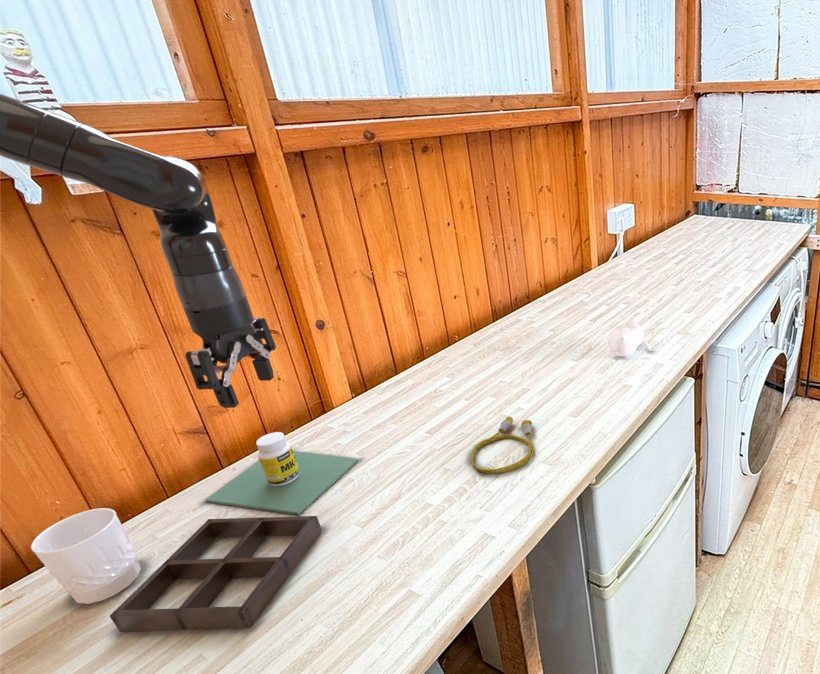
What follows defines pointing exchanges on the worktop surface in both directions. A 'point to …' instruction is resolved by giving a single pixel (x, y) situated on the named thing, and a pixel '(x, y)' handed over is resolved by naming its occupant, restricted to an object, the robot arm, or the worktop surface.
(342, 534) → the worktop surface
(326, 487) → the drying mat
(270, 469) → the supplement bottle
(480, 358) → the worktop surface
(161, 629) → the brown compartment tray
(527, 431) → the extension cord
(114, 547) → the white cup
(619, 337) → the cat figurine
